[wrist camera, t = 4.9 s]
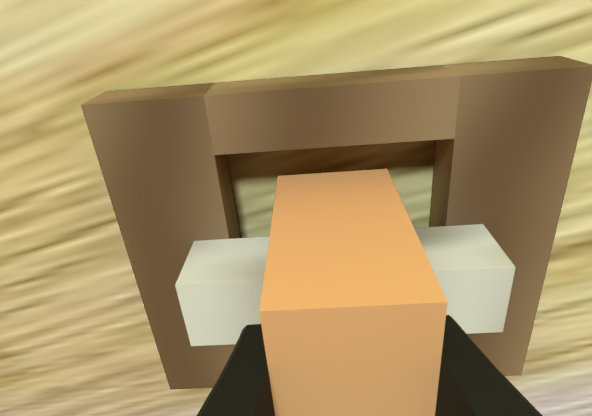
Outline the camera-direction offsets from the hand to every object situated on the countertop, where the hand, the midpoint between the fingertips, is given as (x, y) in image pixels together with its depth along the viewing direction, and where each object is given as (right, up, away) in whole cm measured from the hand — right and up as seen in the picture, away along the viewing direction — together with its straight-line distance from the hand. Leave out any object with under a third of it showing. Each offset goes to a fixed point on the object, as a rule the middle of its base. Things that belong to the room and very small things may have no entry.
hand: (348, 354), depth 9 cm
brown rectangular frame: (0, +2, +4) cm, 5 cm away
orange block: (0, +2, +4) cm, 4 cm away
